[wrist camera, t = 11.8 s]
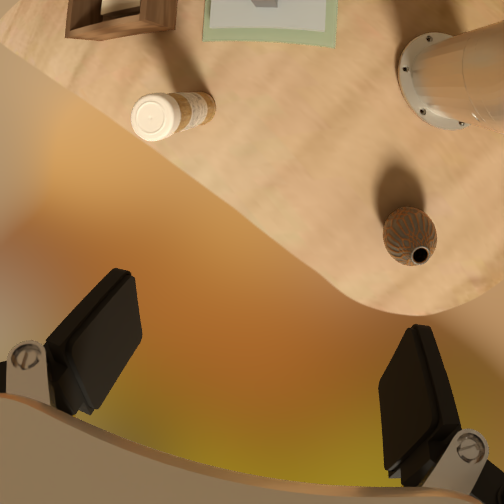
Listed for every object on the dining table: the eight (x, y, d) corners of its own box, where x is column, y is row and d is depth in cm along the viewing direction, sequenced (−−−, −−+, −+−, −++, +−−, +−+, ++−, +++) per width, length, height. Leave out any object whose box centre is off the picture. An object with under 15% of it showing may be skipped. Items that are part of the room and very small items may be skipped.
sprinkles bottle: (176, 110, 38) (120, 122, 27) (198, 84, 36) (146, 83, 25) (202, 132, 39) (154, 151, 28) (224, 106, 37) (182, 113, 25)
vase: (429, 200, 37) (452, 227, 30) (423, 248, 40) (442, 281, 33) (380, 199, 39) (394, 226, 31) (377, 247, 42) (388, 282, 34)
